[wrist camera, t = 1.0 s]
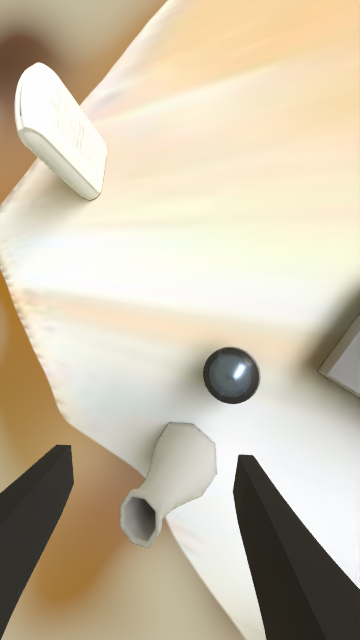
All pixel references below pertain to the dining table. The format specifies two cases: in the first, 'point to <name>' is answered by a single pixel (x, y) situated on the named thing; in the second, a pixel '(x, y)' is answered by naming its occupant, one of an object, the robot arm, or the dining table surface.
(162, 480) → the flask
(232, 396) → the lens
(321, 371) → the camera body
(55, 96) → the white rounded slab
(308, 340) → the dining table surface
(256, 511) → the robot arm
